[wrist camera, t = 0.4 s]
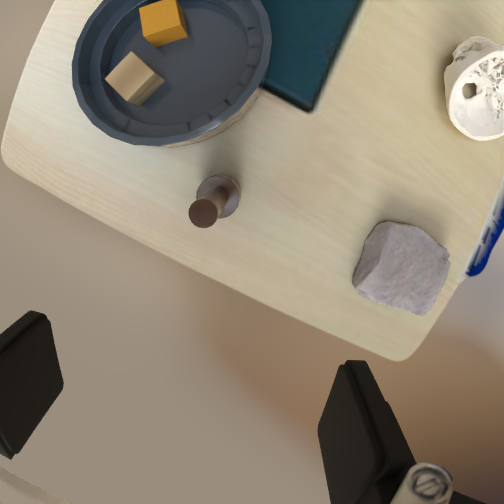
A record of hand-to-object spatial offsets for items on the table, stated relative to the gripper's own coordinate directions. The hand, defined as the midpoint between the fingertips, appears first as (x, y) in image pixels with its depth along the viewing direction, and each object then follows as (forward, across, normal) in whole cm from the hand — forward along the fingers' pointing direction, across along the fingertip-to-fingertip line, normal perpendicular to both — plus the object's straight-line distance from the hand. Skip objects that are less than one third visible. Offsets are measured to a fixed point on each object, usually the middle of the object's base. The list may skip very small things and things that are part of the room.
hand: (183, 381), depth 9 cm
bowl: (+27, +9, -18) cm, 34 cm away
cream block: (+27, +12, -14) cm, 33 cm away
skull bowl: (+28, -27, -22) cm, 45 cm away
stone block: (+28, -21, +3) cm, 35 cm away
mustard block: (+26, +10, -22) cm, 36 cm away
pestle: (+28, +2, -2) cm, 28 cm away
